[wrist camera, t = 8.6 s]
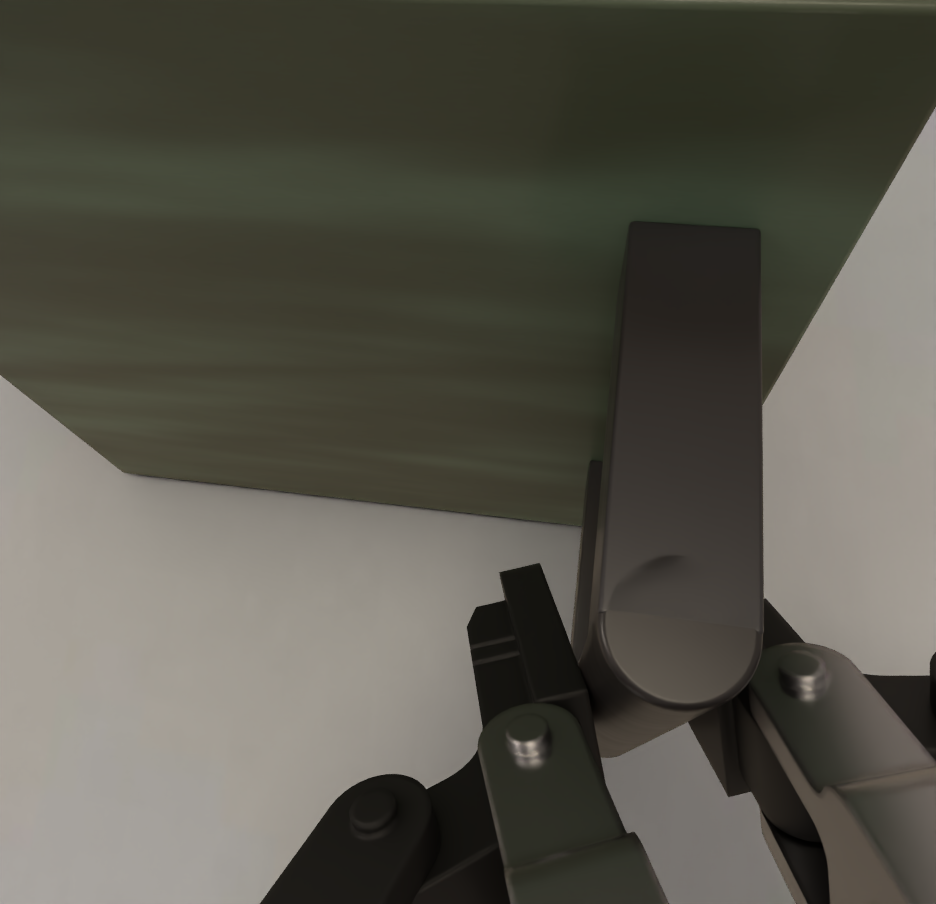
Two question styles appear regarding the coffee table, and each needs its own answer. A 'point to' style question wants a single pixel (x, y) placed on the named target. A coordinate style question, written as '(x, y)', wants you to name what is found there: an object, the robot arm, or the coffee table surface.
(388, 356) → the door
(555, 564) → the coffee table surface
